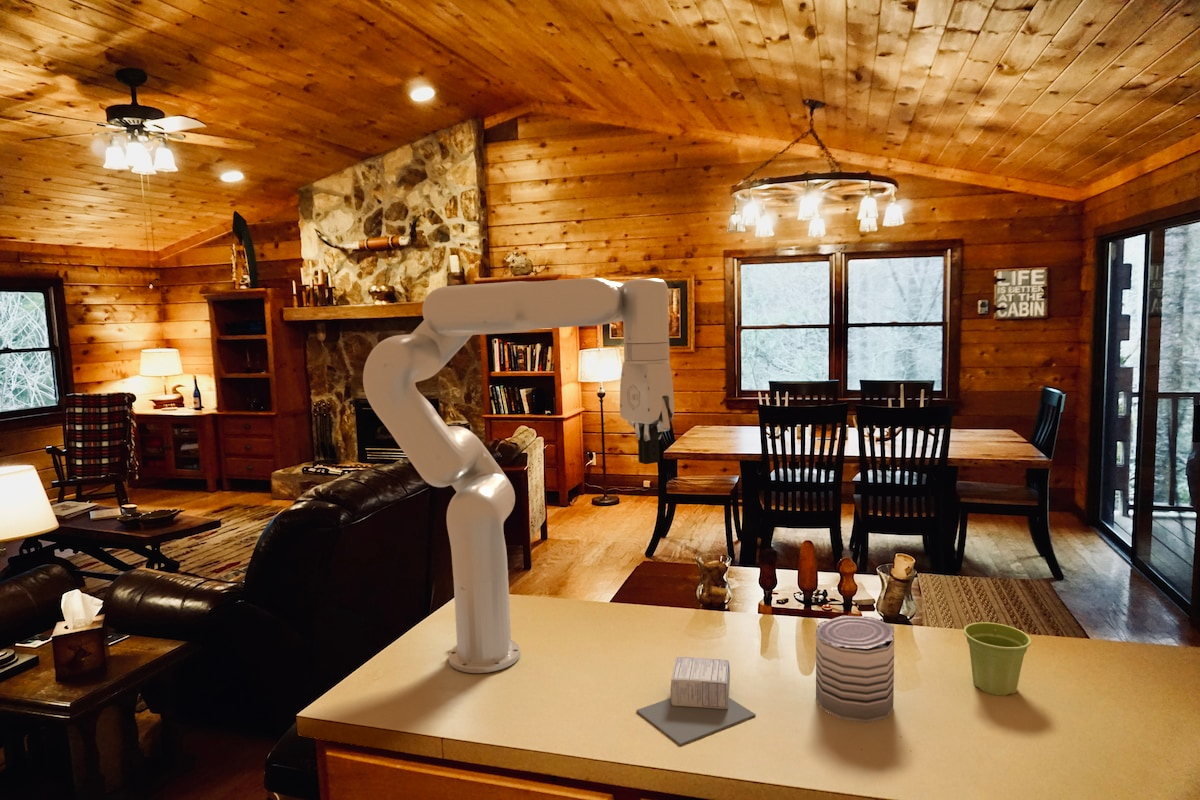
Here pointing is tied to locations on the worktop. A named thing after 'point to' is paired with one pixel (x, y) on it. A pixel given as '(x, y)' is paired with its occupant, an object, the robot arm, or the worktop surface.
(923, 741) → the worktop surface
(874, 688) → the can
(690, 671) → the medicine box
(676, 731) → the mat
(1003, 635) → the plant pot
